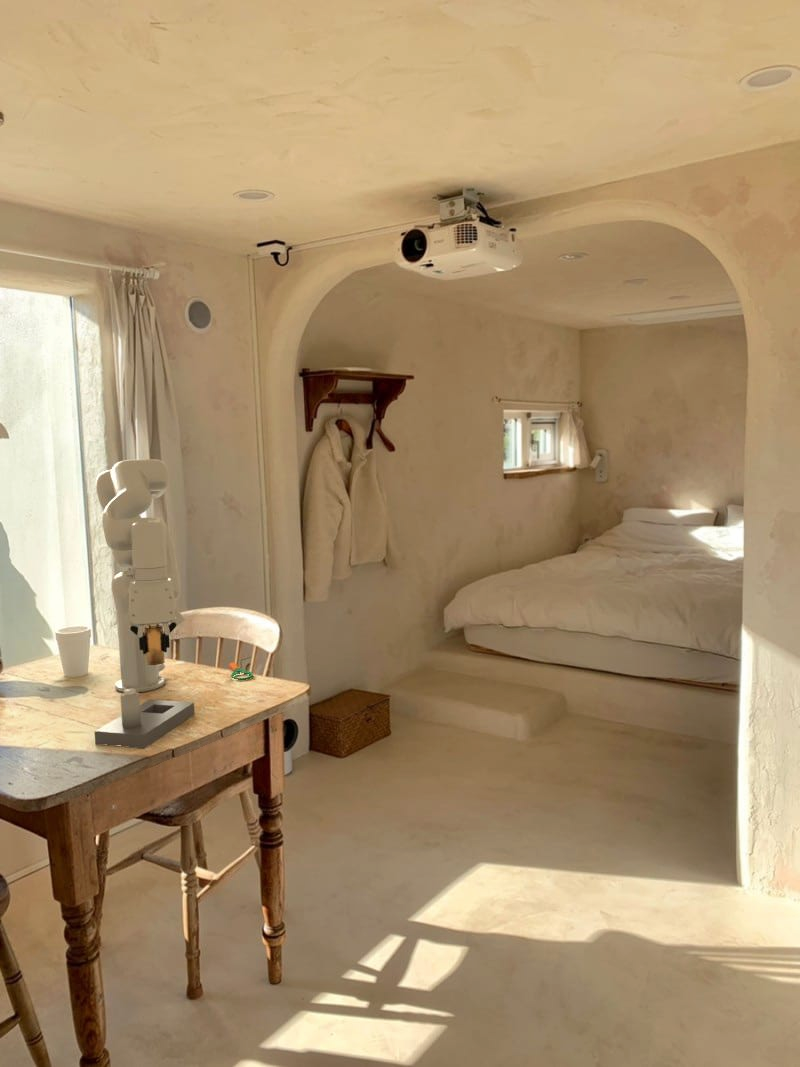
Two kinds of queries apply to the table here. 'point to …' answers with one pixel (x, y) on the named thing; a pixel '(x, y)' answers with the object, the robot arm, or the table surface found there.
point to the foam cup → (74, 649)
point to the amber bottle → (154, 644)
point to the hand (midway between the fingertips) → (155, 651)
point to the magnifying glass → (237, 671)
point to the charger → (143, 721)
